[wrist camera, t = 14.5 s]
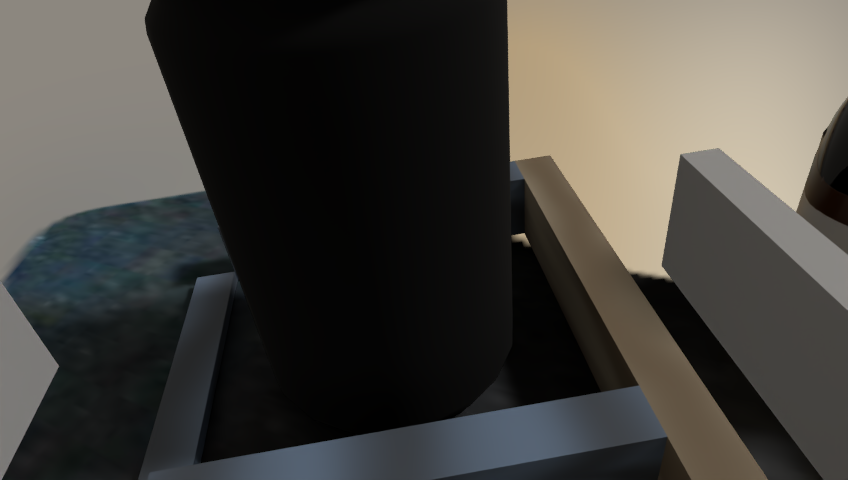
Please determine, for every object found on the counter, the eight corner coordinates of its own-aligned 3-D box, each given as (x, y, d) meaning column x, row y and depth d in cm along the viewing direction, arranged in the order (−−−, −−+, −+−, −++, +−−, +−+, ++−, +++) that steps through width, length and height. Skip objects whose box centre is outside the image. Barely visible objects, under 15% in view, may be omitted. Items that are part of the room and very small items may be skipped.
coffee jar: (497, 264, 31) (482, -143, 20) (534, 439, 22) (542, -113, 12) (296, 284, 31) (180, -106, 21) (256, 463, 22) (18, -50, 12)
